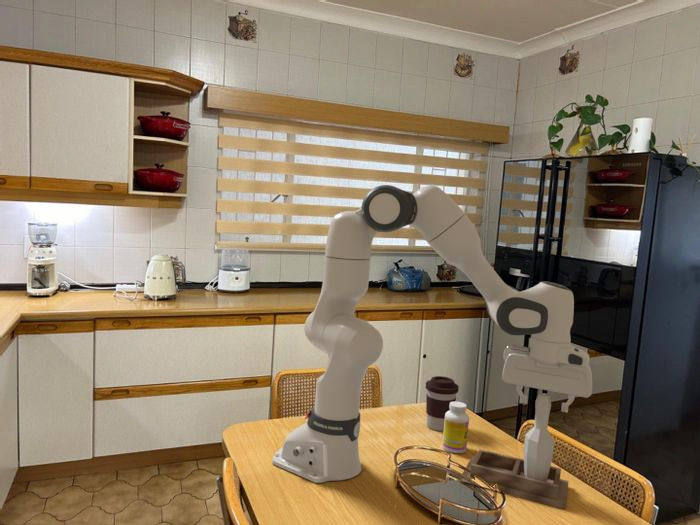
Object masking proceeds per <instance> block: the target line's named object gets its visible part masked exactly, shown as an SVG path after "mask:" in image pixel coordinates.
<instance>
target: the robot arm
mask: <svg viewBox="0 0 700 525" xmlns="http://www.w3.org/2000/svg"><path fill="white" fill-rule="evenodd" d="M407 226H411V227H413V228H414V229H415V230H416V231H417V232H418V233H419V234H420V235H421V236H422V237H423V238H424V240H425V242H427V244H428V245H429V246H430V247H431V248H432V249H433V250H434V252H435V253H437V255H438V256H439V257H441V258H442V259H443V260H444V261H445V262H447V263H448V264H449V265H452V266H454V267H456V268H457V269H458V270H460V271H461V272H462V274H463V273H464V275H465V276H466V277H467V278H468V279H469V281H470V282H471V283H472V284H473V286H474V287H475V288H476V290H477V291H478V292H479V293H480V295H481V296H482V298H483V300H484V302H485V306H486V311H487V313H488V316H489V318H490V319H491V320H492V322H494V324H496V325H497V326H498V327H499V328H500V329H501V331H503V333H506V334H508V335H511V336H530V345H529V346H521V345H519V346H518V345H515V344H511V345H508V346H506V347H505V348H504V349H503V355H502V356H503V361H504V364H503V369H502V374H501V375H502V376H501V379H502V380H503V382H504V383H506V384H510V385H511V384H512V385H515V386H516V387H515V390H516V392H517V394H518V396H519V404H521V405H522V404H523V405H527V400H528V399H527V398H528V395H527V394H526V395H525V394H524V391H523V388H524V387H527V388H533V389H538V390H544V391H548V392H555V393H559V394H565V395H567V399H568V400H567V401H566V402H561V410H560V412H561V413H568V412H569V406H570V405H571V404H572V403H573V402H574V401H575V396H576V397H580V398H586V399H587V398H590V397H591V396H592V395H593V394H592V393H593V374H592V368H591V366H590V365H589V364H590V359H591V358H590V355H589V353H588V352H587V351H584V350H582V349H581V348H578V347H575V346H574V345H572V344H571V341H572V340H571V329H572V326H573V324H574V315H575V314H574V311H575V310H574V309H575V305H574V304H575V299H574V293H573V291H572V289H570V288H568V287H567V286H566V285H562V284H559V283H556V282H551V281H546V280H545V281H540V282H538V284H535V285H534V286H533V287H530V288H527V289H525V290H521V291H520V290H519V289H517V288H515V287H513V286H511V285H508V284H507V283H506V282H504V280H503V279H502V278H501V276H499V275H498V273H497V272H496V270H494V268H493V267H492V265H491V264H490V263H489V261H488V260H487V258H486V257H485V255H484V253H483V250H482V243H481V242H482V241H481V237H480V234H479V233H478V231H477V228H476V227H475V226H474V224H473V222H472V221H471V220H470V218H469V217H468V215H467V214H466V213H465V212H464V210H462V208H461V207H460V206H459V205H458V203H456V202H455V201H454V200H453V198H451V196H449V195H448V194H447V193H446V192H445V191H444V190H442V188H441V187H438V186H436V185H426V186H422V187H421V188H419V189H418V190H416V191H414V193H412V192H409V191H406V190H404V189H401V188H399V187H396V186H394V185H392V184H391V185H390V184H382V185H378V186H374V187H373V188H371V190H369V191H368V192H367V194H365V195H364V198H363V200H362V203H361V206H360V208H359V209H357V210H345V211H341V212H339V213H336V214H335V215H334V216H333V218H332V219H331V221H330V224H329V228H328V233H327V236H326V242H325V249H324V261H323V263H324V264H323V277H322V284H321V291H320V295H319V297H318V299H317V303H316V306H315V308H314V310H313V311H312V312H311V313H310V314H309V315H308V316H307V318H306V320H305V322H304V334H305V337H306V339H307V340H308V341H309V342H310V343H311V344H312V346H314V347H315V349H317V350H318V351H321V352H324V354H327V356H328V361H327V365H326V368H325V370H324V373H323V374H321V375H320V376H318V378H317V380H316V382H315V384H316V385H315V398H314V399H315V401H314V406H313V407H312V408H311V409H309V410H308V412H307V413H305V414H304V416H305V417H304V420H306V419H307V421H306V422H305V423H303V424H302V425H300V426H298V427H297V428H295V429H294V430H292V431H291V432H289V434H288V435H287V436H286V438H285V439H284V441H283V444H282V447H281V448H279V449H278V450H277V451H276V452H274V455H273V456H272V461H271V462H272V464H273V465H275V466H276V467H279V468H281V469H283V470H286V471H288V472H289V473H290V472H291V473H292V474H295V475H297V476H299V477H302V478H304V479H306V480H309V481H311V482H313V483H316V484H322V483H324V482H331V481H345V480H349V479H352V478H354V477H356V476H358V475H359V474H360V473H361V472H362V465H361V458H360V452H359V436H360V430H361V413H360V402H361V393H362V385H363V381H364V377H365V376H366V373H367V371H368V369H369V367H370V366H372V365H373V364H375V363H376V361H377V360H378V359H379V358H380V356H381V354H382V352H383V349H384V341H383V340H384V339H383V337H382V334H381V333H380V331H379V330H378V329H377V328H376V327H375V326H373V325H372V324H371V323H369V322H368V321H367V320H365V319H361V318H359V317H356V316H355V313H356V308H357V306H358V303H359V301H360V299H361V298H362V297H363V296H365V295H366V294H367V292H368V289H369V284H370V283H369V282H370V280H369V279H370V269H371V268H370V267H371V257H372V256H371V255H372V246H373V245H372V244H373V241H374V238H375V237H376V235H377V234H379V233H391V232H395V231H397V230H399V229H402V228H404V227H407Z"/></svg>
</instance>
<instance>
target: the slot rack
mask: <svg viewBox="0 0 700 525" xmlns="http://www.w3.org/2000/svg"><path fill="white" fill-rule="evenodd" d="M465 468H467V469H468V470H470V471H471V472H470V473H469V472H467V471H465V469H464V470H463V472H462V473H461V475H464V476H465V477H466V478H469V479H474V480H475V477H474V475H473V474H475V475H478V476H479V477H481V478H482V479H484V480H485V481H486V482H488V483H489V484H490V485H492V486H494V485H495V484H496V483H497V484H498V486H499V487H500V488H501V490H502V491H503V492H504V493H503V494H505V495H508V496H509V495H510V496H513V497H516V498H520V499H524V500H527V501H528V500H529V501H531V502H536V503H539V504H543V505H547V506H550V507H555V508H558V509H563V510H566V506H567V498H568V497H567V496H568V490H569V480H566V479H563V478H561V471H562V468H561V467H557V466H553V465H551V466H550V470H549V474H548V478H547V482H544V481H540V480H536V479H532V478H528V477H524V458H518V457H515V456H514V457H513V456H510V455H505V454H501V453H497V452H494V451H490V450H485V449H481V448H479V449H478V451H477V453H476V455H475V457H471V458H470V459H469V461H468V463H467V464H466V467H465Z"/></svg>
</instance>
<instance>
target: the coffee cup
mask: <svg viewBox="0 0 700 525" xmlns="http://www.w3.org/2000/svg"><path fill="white" fill-rule="evenodd" d="M459 388H460V386H459V385H458V384H457V383H456V382H455V380H454V379H452V378H451V377H447V376H442V375H438V376H432V377H430V379H429V380H427V381H426V382H425V389H426V391H427V393H426V395H425V396H426V397H425V398H426V401H425V402H426V407H425V408H426V410H425V411H426V426H427V428H429V429H431V430H433V431H436V432H437V431H438V432H444V421H445V414H446V412H447V411H449V410H450V408H449V405H450V402H454V401H456V402H457V397H456V395H457V394H458V392H459Z"/></svg>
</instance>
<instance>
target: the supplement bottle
mask: <svg viewBox="0 0 700 525" xmlns="http://www.w3.org/2000/svg"><path fill="white" fill-rule="evenodd" d="M449 408H450V410H449V411H447V412H446V414H445V421H444V431H442V445H441V446H442V448H443V449H444V450H445V451H446V452H448V453H453V454H462V453H463V454H464V453H465V452H466V451H467V445H468V434H469V423H470V417H469V414H468V413H467V412H466V411H467V404H466V403H465V402H461V401H457V400H456V401H454V402H450V405H449Z"/></svg>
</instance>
